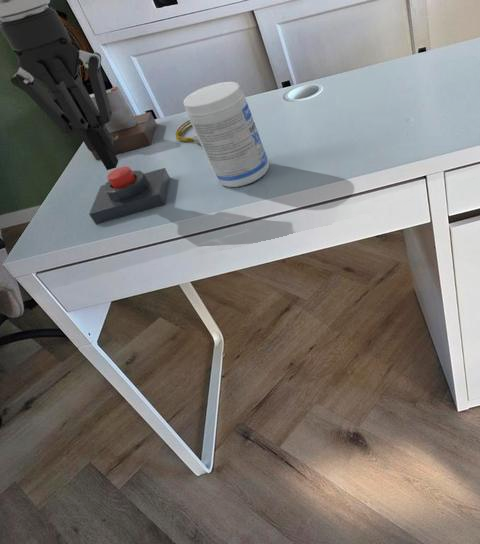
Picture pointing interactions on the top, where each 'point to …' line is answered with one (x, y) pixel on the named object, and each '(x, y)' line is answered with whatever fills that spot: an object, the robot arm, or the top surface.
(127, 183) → the red button
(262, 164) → the supplement tub
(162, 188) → the button block
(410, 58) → the top surface
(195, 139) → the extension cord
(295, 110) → the top surface
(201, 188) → the top surface
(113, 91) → the tap lever
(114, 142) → the base
